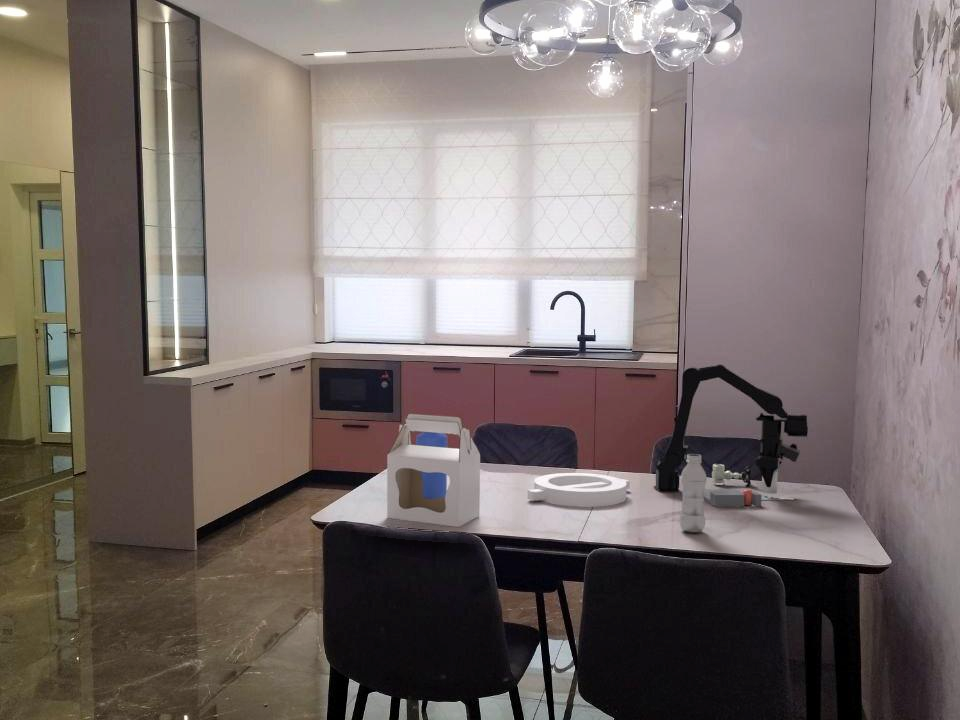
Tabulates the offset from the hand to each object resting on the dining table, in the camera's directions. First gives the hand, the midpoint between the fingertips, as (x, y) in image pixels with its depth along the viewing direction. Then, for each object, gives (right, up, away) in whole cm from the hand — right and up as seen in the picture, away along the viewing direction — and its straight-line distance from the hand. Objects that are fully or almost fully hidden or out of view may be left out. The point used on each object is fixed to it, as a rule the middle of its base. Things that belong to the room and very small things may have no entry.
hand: (769, 485), depth 260 cm
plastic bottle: (-34, -6, -42) cm, 55 cm away
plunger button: (-10, -4, -11) cm, 16 cm away
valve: (-7, -3, +17) cm, 19 cm away
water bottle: (-104, -3, -8) cm, 104 cm away
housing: (-15, -3, -4) cm, 16 cm away
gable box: (-102, -5, -29) cm, 106 cm away
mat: (0, -3, 0) cm, 3 cm away
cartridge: (0, -2, 0) cm, 2 cm away
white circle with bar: (-59, -4, -1) cm, 59 cm away
